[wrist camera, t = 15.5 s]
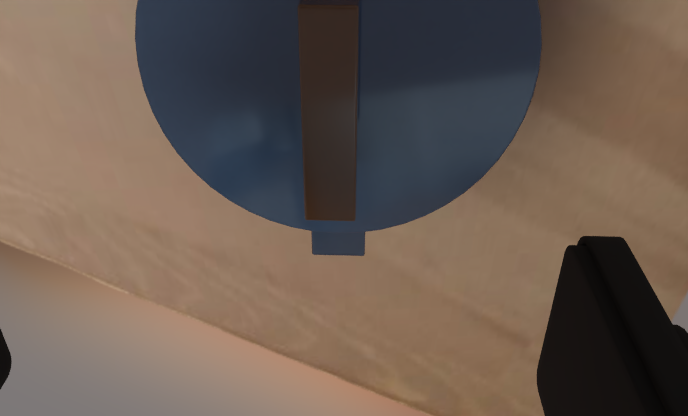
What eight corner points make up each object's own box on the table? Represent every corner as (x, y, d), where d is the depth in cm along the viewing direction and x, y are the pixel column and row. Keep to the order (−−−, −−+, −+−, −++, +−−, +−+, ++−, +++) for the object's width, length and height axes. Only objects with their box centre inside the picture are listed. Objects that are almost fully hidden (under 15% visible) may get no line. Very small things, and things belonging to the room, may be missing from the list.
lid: (569, -165, 20) (636, -155, 15) (505, 222, 28) (535, 315, 23) (110, -168, 21) (24, -159, 16) (173, 214, 28) (129, 304, 23)
